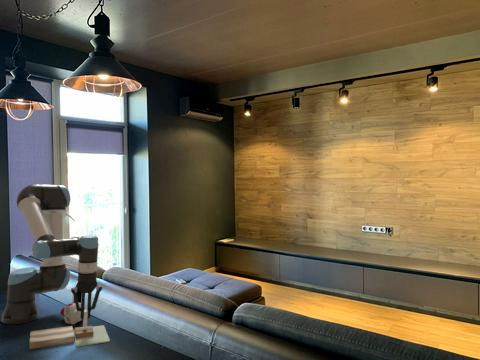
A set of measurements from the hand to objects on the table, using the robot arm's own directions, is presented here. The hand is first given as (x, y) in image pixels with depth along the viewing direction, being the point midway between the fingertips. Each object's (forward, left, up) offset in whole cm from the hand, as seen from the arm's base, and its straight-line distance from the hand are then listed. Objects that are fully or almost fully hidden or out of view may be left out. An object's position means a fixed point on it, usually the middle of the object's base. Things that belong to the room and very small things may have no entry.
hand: (84, 325), depth 156 cm
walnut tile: (0, 0, -4) cm, 4 cm away
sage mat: (+2, +2, -4) cm, 5 cm away
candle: (-19, -4, -4) cm, 20 cm away
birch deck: (0, -13, -4) cm, 13 cm away
